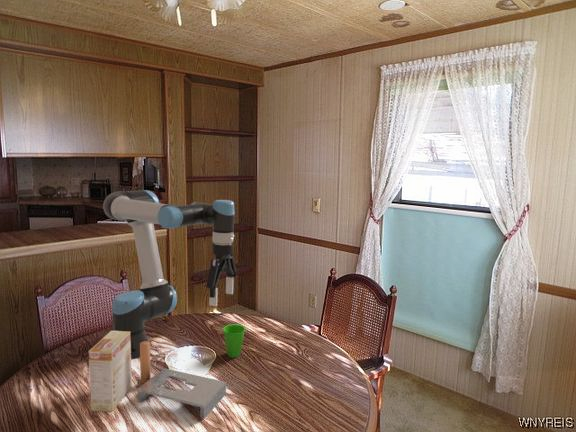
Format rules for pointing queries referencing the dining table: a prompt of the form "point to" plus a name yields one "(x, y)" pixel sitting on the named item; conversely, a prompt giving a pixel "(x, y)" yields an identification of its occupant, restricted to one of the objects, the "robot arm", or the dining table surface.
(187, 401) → the keyhole plate
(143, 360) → the headed peg
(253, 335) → the dining table surface
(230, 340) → the cup
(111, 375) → the coffeecake box
